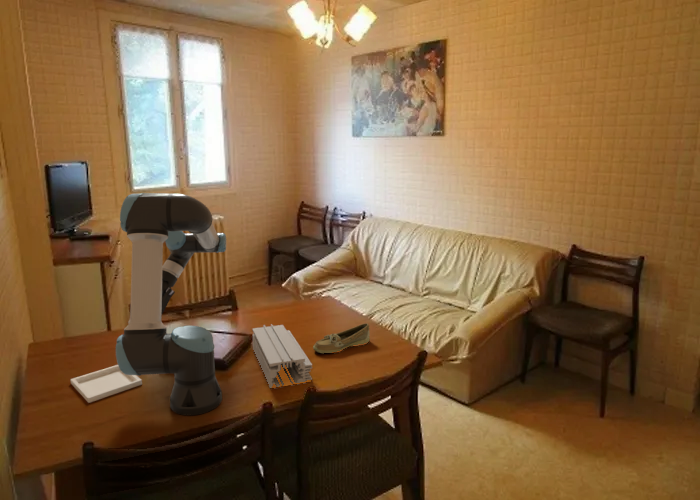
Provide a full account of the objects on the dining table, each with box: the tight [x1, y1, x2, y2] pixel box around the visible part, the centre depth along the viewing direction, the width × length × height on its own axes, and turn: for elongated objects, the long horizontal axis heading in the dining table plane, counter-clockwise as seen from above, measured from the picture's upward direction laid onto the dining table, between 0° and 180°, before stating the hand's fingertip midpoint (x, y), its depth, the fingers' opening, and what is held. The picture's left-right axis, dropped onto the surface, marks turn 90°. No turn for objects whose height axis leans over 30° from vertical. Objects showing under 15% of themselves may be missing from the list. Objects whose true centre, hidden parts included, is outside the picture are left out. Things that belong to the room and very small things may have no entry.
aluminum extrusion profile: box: [251, 323, 313, 389], centre depth 171 cm, size 14×31×10 cm, turn 21°
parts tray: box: [70, 364, 143, 404], centre depth 154 cm, size 16×16×2 cm
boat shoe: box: [312, 322, 371, 355], centre depth 187 cm, size 10×24×8 cm, turn 130°
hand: (137, 326), depth 180 cm, fingers closed on pebble cup, 6 cm apart
